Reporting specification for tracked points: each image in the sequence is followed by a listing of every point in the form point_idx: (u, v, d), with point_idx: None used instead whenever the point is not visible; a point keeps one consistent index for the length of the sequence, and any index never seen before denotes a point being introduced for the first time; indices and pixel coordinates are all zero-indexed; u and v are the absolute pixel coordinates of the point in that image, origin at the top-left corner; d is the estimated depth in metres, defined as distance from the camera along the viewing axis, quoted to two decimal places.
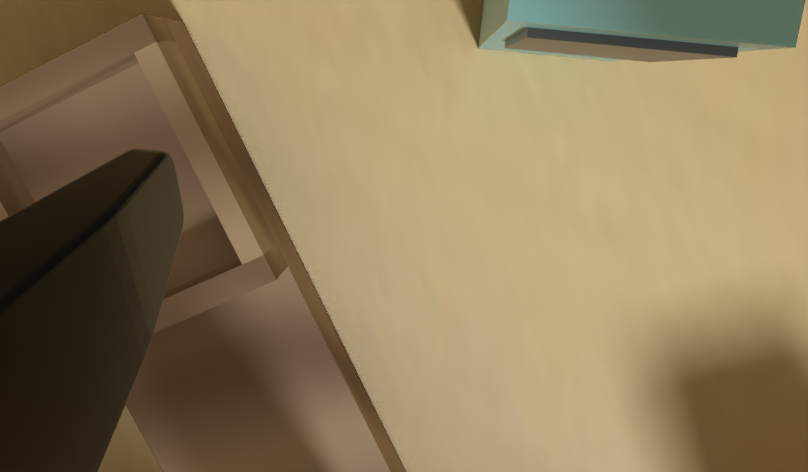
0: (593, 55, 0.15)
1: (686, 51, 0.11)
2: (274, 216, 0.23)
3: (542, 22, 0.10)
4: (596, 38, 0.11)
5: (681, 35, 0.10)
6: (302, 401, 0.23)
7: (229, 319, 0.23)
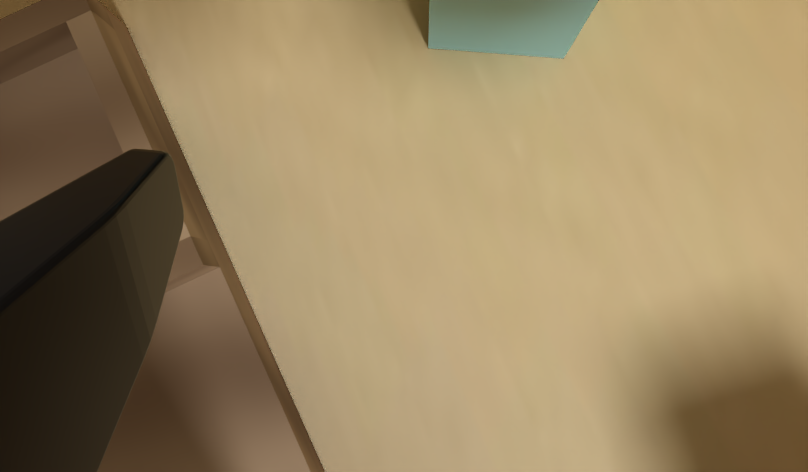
0: None
1: None
2: (209, 221, 0.21)
3: None
4: None
5: None
6: (229, 435, 0.19)
7: None
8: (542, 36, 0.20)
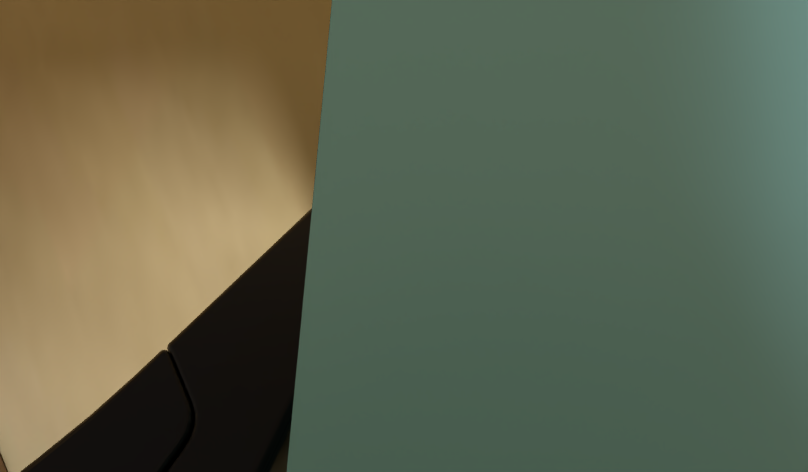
0: None
1: None
2: None
3: None
4: None
5: None
6: None
7: None
8: None
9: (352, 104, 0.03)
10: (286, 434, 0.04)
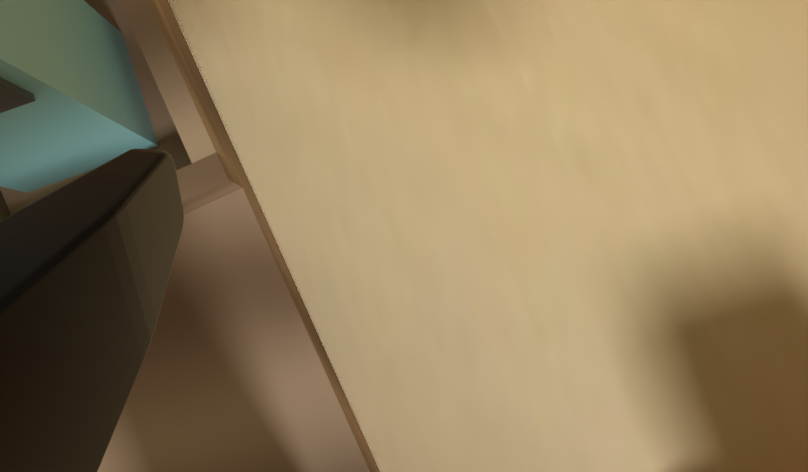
0: None
1: None
2: (231, 148, 0.22)
3: None
4: None
5: None
6: (251, 346, 0.20)
7: None
8: (104, 145, 0.19)
9: None
10: None
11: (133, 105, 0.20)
